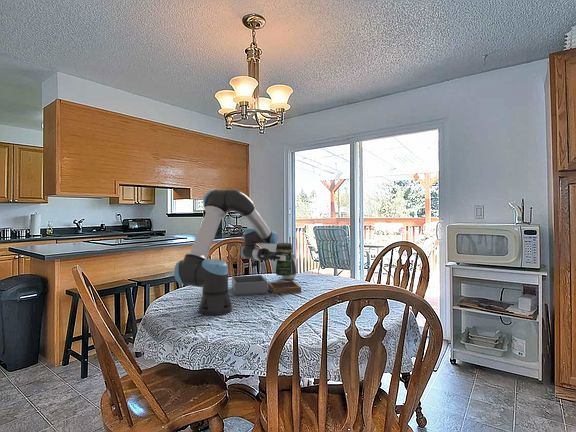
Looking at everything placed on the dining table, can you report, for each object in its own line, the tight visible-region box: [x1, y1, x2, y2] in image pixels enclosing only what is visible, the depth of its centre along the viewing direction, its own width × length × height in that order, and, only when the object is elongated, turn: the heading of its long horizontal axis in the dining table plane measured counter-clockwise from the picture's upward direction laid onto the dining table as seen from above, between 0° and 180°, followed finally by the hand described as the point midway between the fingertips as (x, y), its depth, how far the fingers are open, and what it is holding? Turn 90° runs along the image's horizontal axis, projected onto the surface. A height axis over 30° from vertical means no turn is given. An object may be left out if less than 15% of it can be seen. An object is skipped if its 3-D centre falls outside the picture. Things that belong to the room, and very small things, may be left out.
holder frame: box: [268, 280, 302, 295], centre depth 196 cm, size 16×16×3 cm
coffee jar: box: [275, 242, 293, 277], centre depth 196 cm, size 10×8×19 cm
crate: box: [231, 274, 269, 297], centre depth 193 cm, size 18×18×7 cm
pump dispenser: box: [282, 259, 298, 280], centre depth 226 cm, size 10×10×15 cm
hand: (290, 257), depth 193 cm, fingers closed on coffee jar, 9 cm apart
